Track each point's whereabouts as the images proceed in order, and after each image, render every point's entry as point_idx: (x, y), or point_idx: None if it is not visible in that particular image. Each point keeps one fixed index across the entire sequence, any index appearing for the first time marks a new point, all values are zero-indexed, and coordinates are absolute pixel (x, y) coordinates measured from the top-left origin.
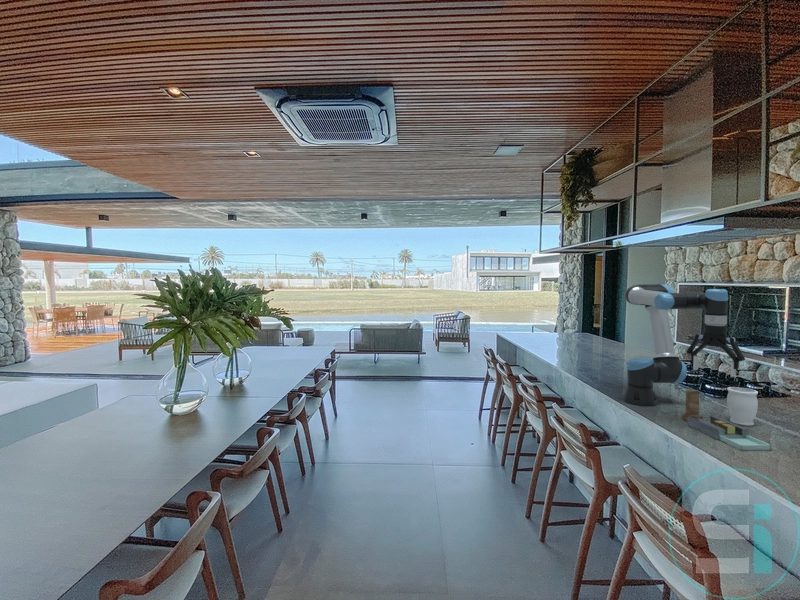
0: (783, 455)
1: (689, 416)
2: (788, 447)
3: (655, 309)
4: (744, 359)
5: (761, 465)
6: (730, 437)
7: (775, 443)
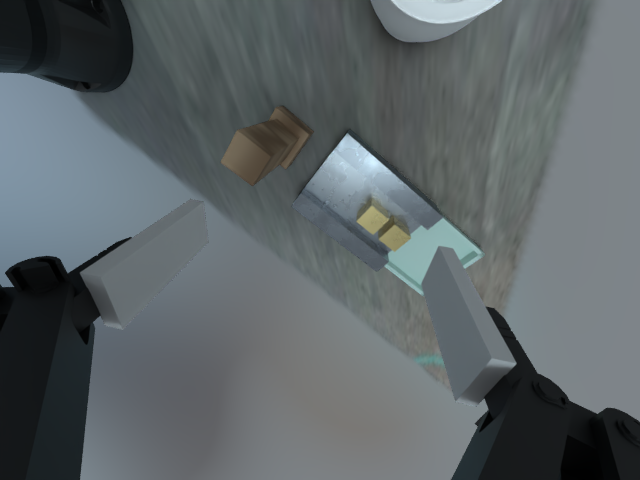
0: (500, 262)
1: (293, 207)
2: (528, 194)
3: None
4: (637, 444)
5: None
6: None
7: (500, 183)
